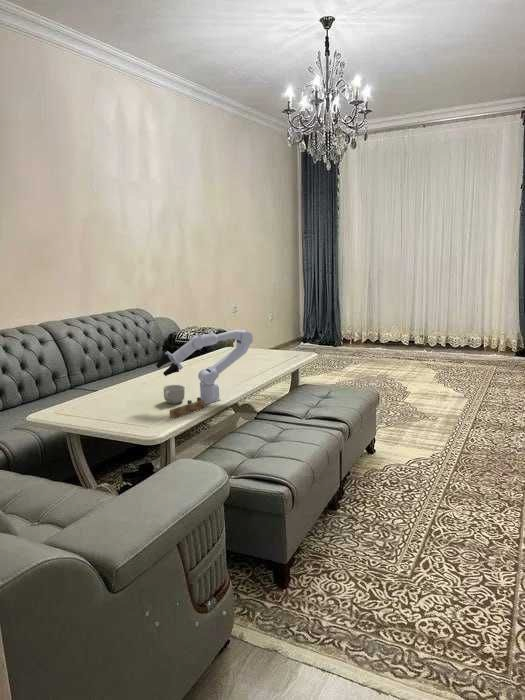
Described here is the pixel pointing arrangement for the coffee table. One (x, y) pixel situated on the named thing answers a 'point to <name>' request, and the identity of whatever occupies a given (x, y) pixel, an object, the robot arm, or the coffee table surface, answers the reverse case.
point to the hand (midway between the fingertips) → (160, 370)
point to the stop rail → (187, 408)
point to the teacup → (174, 393)
